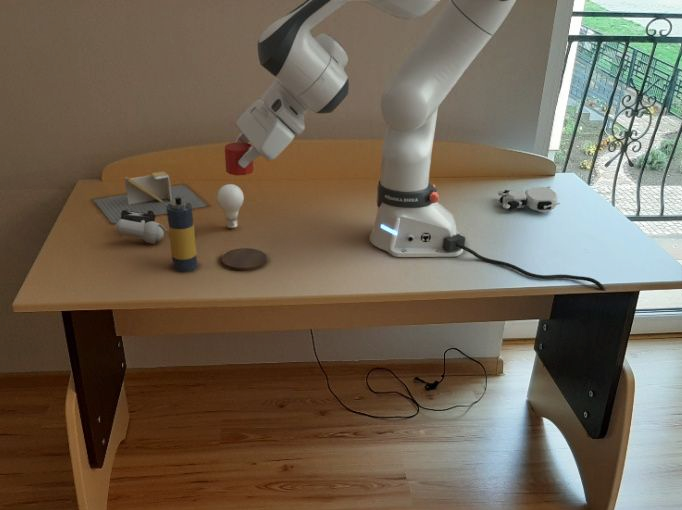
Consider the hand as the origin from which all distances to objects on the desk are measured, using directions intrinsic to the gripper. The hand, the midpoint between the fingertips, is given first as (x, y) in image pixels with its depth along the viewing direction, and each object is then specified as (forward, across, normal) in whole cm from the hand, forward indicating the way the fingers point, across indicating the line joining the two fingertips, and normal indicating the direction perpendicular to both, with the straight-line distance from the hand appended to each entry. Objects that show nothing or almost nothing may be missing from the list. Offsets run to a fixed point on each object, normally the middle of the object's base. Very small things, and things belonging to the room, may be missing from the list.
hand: (236, 159), depth 141 cm
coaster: (+16, 0, +17) cm, 23 cm away
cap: (+1, 0, +2) cm, 3 cm away
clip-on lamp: (+28, -19, +5) cm, 34 cm away
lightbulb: (+15, -19, +18) cm, 30 cm away
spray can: (+25, -1, +8) cm, 26 cm away
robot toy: (-40, -10, +73) cm, 84 cm away
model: (+27, -41, +6) cm, 49 cm away
